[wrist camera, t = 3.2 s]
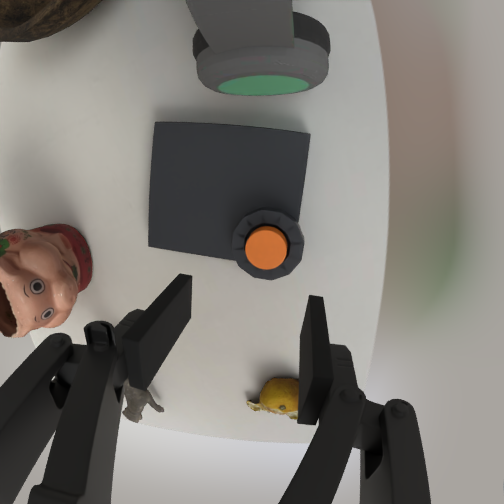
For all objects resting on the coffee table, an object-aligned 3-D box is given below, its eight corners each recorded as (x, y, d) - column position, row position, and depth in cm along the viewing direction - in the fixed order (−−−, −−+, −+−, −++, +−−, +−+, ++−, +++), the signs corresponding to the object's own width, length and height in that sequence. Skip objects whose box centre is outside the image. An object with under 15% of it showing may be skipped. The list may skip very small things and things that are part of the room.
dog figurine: (111, 342, 39) (84, 372, 32) (143, 344, 38) (118, 378, 31) (138, 401, 42) (119, 432, 35) (169, 405, 41) (152, 439, 34)
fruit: (245, 407, 39) (241, 425, 35) (257, 366, 36) (253, 385, 32) (301, 418, 38) (300, 437, 35) (320, 379, 35) (321, 399, 32)
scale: (317, 136, 27) (320, 133, 23) (297, 270, 31) (296, 284, 28) (162, 123, 28) (147, 120, 25) (155, 247, 33) (141, 258, 30)
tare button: (289, 229, 27) (289, 233, 25) (284, 266, 28) (283, 272, 26) (249, 223, 27) (247, 227, 26) (245, 260, 28) (243, 266, 27)
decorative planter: (33, 295, 39) (-24, 335, 26) (14, 222, 35) (-53, 250, 22) (125, 299, 36) (60, 361, 23) (104, 204, 32) (17, 236, 19)
